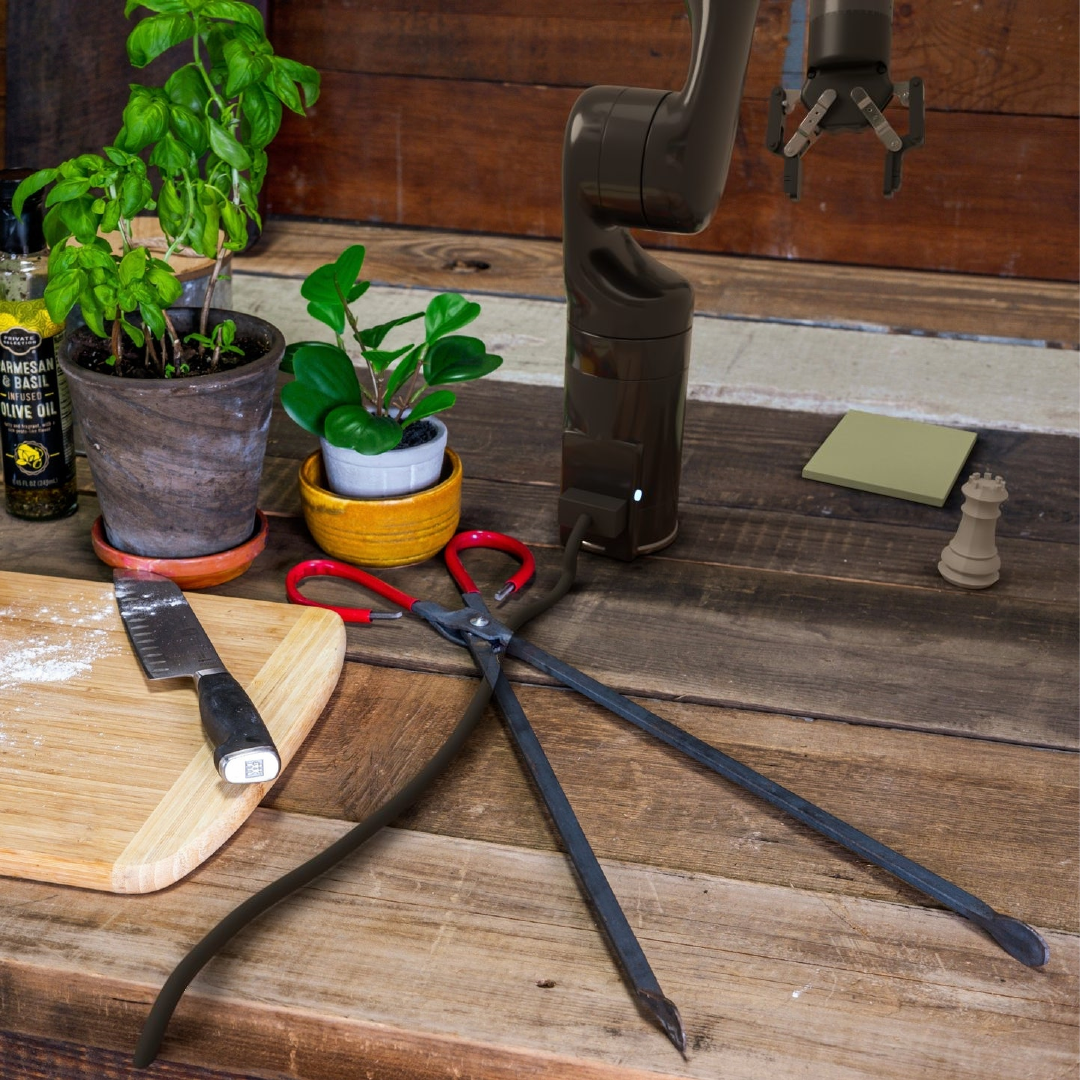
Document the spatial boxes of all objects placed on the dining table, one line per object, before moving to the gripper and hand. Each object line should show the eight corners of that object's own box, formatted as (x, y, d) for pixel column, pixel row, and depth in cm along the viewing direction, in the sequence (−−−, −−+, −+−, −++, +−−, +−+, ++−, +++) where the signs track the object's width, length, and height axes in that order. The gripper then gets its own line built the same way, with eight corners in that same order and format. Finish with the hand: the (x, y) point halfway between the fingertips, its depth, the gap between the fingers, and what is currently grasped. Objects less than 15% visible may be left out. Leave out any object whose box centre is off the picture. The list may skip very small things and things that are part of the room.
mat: (942, 507, 104) (943, 498, 104) (801, 477, 109) (802, 469, 109) (976, 440, 117) (977, 433, 117) (849, 416, 122) (850, 408, 121)
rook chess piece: (989, 597, 91) (1011, 498, 88) (928, 580, 94) (947, 483, 90) (1005, 572, 95) (1026, 476, 91) (946, 556, 97) (964, 461, 93)
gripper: (765, 13, 115) (757, 193, 116) (927, -2, 110) (917, 187, 111) (780, 40, 122) (772, 209, 123) (934, 27, 117) (924, 204, 118)
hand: (841, 198), depth 117 cm, fingers open, 8 cm apart
